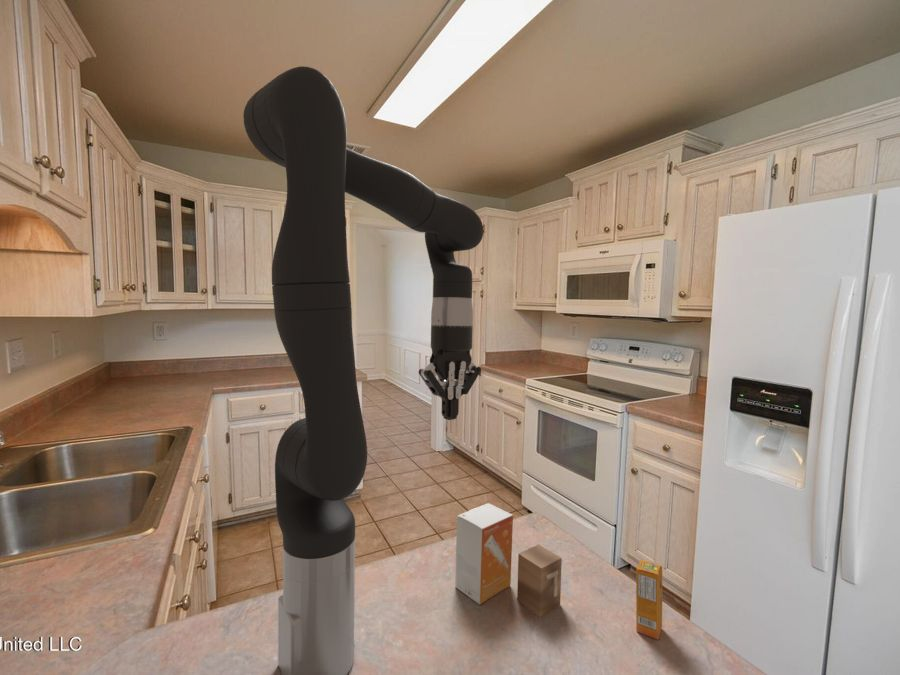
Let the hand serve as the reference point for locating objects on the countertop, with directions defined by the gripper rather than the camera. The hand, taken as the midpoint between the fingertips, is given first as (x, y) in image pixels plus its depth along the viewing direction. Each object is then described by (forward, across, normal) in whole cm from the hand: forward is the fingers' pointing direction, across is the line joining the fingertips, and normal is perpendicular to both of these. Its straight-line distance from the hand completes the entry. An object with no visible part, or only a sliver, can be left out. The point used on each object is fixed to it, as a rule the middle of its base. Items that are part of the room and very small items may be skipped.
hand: (450, 418), depth 75 cm
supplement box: (+29, +17, -29) cm, 45 cm away
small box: (+29, +3, -7) cm, 30 cm away
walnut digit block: (+29, +8, -15) cm, 34 cm away
